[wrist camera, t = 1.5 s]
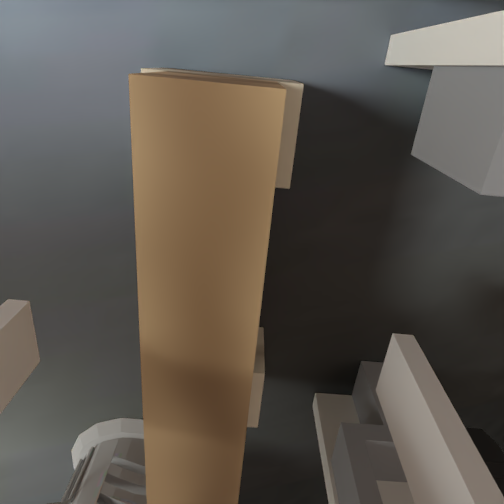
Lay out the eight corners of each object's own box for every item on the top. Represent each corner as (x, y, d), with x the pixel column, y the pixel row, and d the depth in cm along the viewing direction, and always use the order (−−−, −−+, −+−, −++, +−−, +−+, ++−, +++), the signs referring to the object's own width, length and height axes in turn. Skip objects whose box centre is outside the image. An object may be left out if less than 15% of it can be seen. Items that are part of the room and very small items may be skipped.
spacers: (165, 370, 26) (151, 420, 22) (163, 67, 18) (141, 68, 14) (257, 376, 26) (257, 427, 22) (294, 80, 18) (303, 84, 15)
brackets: (312, 405, 27) (362, 706, 14) (391, 34, 17) (754, -46, 5) (426, 413, 27) (575, 717, 15) (566, 53, 18) (1364, 22, 5)
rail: (169, 421, 22) (147, 512, 18) (168, 71, 14) (128, 74, 10) (239, 426, 22) (236, 518, 18) (276, 81, 14) (286, 88, 10)
